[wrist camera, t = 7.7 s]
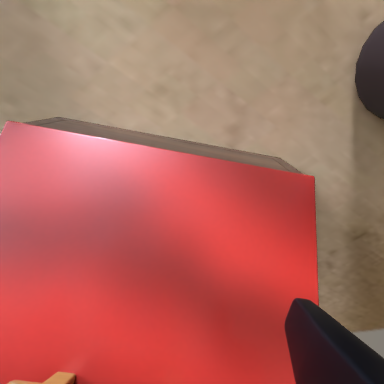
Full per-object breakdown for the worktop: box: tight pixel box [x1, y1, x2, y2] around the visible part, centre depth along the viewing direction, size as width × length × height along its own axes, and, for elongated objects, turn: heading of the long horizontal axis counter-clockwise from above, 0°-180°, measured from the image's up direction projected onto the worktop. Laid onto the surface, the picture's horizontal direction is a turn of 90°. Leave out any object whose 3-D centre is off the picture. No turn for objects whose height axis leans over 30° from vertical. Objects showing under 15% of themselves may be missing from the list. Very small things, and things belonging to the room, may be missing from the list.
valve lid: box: [0, 121, 319, 384], centre depth 10 cm, size 12×16×5 cm
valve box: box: [24, 117, 303, 174], centre depth 19 cm, size 12×16×5 cm
